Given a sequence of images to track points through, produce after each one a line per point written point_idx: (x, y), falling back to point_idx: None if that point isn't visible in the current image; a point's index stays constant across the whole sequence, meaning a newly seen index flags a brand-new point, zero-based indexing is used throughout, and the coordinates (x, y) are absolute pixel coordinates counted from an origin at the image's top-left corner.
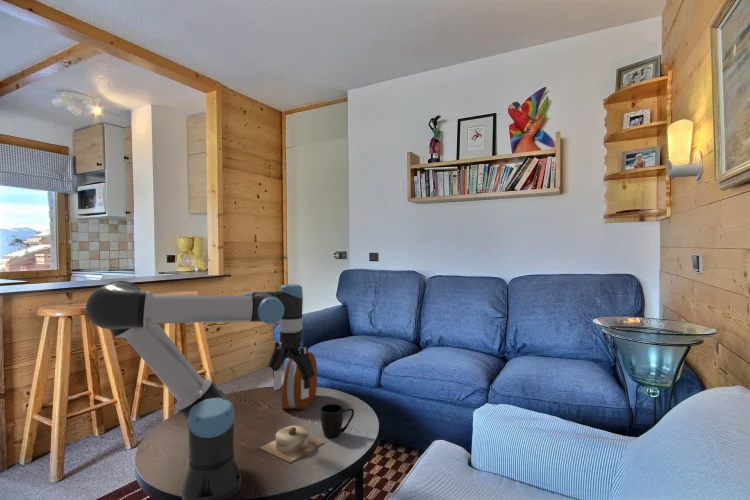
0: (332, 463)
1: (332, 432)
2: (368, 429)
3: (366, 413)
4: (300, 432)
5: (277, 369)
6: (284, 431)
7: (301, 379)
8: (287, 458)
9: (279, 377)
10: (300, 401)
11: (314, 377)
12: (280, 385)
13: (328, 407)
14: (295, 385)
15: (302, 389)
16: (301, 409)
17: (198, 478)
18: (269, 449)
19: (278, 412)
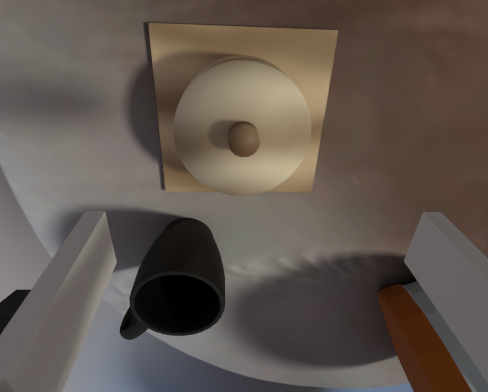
0: (35, 116)
1: (161, 234)
2: (127, 305)
3: (200, 353)
4: (219, 157)
5: None
6: (283, 127)
7: (4, 371)
8: (178, 36)
9: (465, 321)
10: (389, 305)
11: None
12: (416, 270)
13: (215, 309)
14: (438, 351)
15: (49, 269)
16: (382, 289)
17: None
18: (292, 44)
19: None
